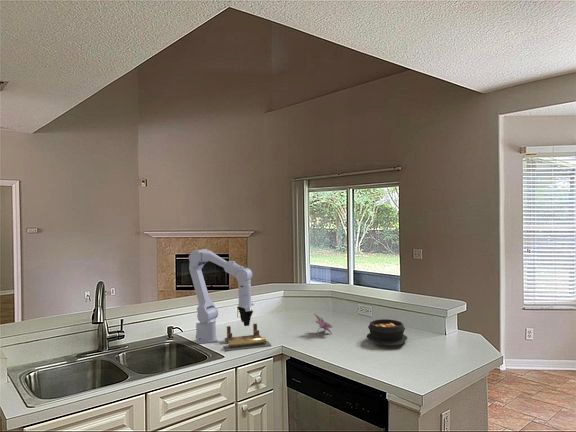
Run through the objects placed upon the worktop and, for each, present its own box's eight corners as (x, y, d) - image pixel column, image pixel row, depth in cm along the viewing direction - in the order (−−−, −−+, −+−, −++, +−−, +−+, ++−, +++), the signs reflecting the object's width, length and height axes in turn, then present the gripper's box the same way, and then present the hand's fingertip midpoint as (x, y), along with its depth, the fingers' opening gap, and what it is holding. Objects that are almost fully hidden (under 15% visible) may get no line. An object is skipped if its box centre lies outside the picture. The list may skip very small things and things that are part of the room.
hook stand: (226, 343, 198) (226, 329, 197) (224, 340, 204) (224, 326, 204) (261, 339, 202) (261, 326, 202) (259, 336, 208) (258, 323, 208)
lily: (332, 339, 203) (338, 320, 207) (310, 331, 203) (316, 312, 206) (326, 340, 215) (332, 322, 218) (305, 332, 214) (311, 314, 218)
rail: (229, 348, 189) (229, 341, 189) (228, 346, 192) (228, 340, 192) (266, 344, 194) (266, 337, 194) (264, 342, 197) (264, 336, 197)
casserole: (412, 349, 183) (411, 330, 183) (368, 349, 185) (368, 330, 185) (402, 333, 208) (402, 316, 208) (364, 333, 210) (364, 316, 210)
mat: (225, 351, 187) (225, 350, 187) (223, 346, 193) (223, 345, 193) (271, 346, 193) (271, 345, 193) (267, 341, 199) (267, 340, 199)
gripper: (256, 296, 190) (256, 326, 190) (250, 291, 204) (250, 319, 204) (240, 297, 188) (241, 328, 188) (235, 292, 202) (236, 320, 202)
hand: (245, 323), depth 196 cm, fingers open, 7 cm apart
